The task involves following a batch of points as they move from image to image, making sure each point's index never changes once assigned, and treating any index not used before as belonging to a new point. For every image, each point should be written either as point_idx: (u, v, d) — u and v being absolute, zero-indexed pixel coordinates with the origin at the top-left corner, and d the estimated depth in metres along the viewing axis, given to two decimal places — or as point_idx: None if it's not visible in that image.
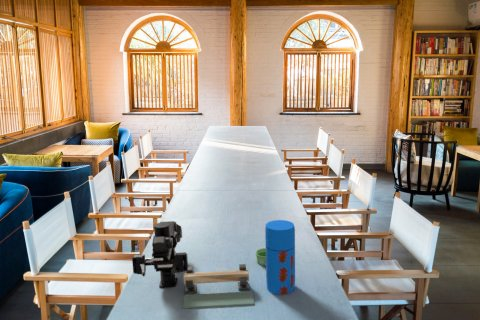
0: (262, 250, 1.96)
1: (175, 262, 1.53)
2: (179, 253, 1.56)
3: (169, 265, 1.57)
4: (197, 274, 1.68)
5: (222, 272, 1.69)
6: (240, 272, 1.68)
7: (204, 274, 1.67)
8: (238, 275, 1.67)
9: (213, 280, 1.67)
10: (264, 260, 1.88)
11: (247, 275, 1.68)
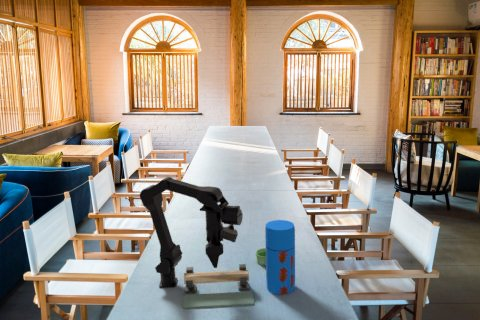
0: (262, 250, 1.96)
1: None
2: None
3: None
4: (197, 274, 1.68)
5: (222, 272, 1.69)
6: (240, 272, 1.68)
7: (204, 274, 1.67)
8: (238, 275, 1.67)
9: (213, 280, 1.67)
10: (264, 260, 1.88)
11: (247, 275, 1.68)
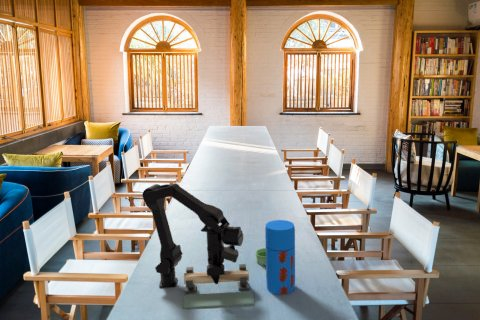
0: (262, 250, 1.96)
1: None
2: None
3: None
4: (197, 274, 1.68)
5: None
6: (240, 272, 1.68)
7: (204, 274, 1.67)
8: (238, 275, 1.67)
9: None
10: (264, 260, 1.88)
11: (247, 275, 1.68)
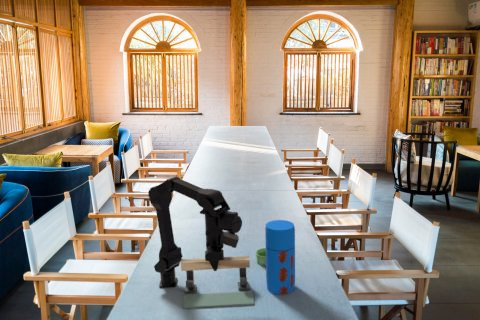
0: (262, 250, 1.96)
1: None
2: None
3: None
4: (195, 260, 1.59)
5: None
6: (240, 258, 1.59)
7: (203, 261, 1.58)
8: (238, 261, 1.58)
9: None
10: (264, 260, 1.88)
11: (248, 261, 1.59)
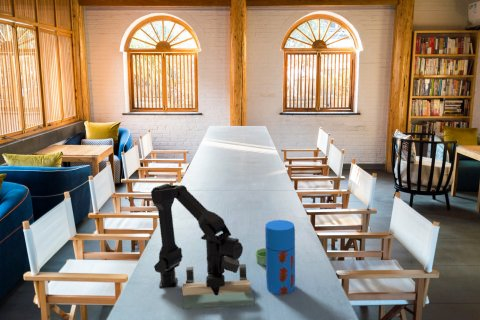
0: (262, 250, 1.96)
1: None
2: None
3: None
4: (196, 285, 1.61)
5: None
6: (241, 283, 1.61)
7: (204, 285, 1.60)
8: (239, 286, 1.60)
9: None
10: (264, 260, 1.88)
11: (248, 286, 1.61)
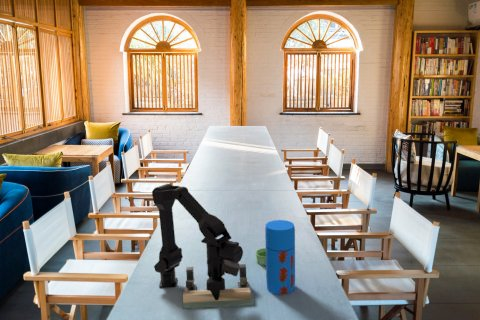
0: (262, 250, 1.96)
1: None
2: None
3: None
4: (197, 292, 1.62)
5: (223, 290, 1.62)
6: (241, 290, 1.62)
7: (204, 293, 1.61)
8: (239, 293, 1.61)
9: (214, 299, 1.61)
10: (264, 260, 1.88)
11: (249, 293, 1.61)
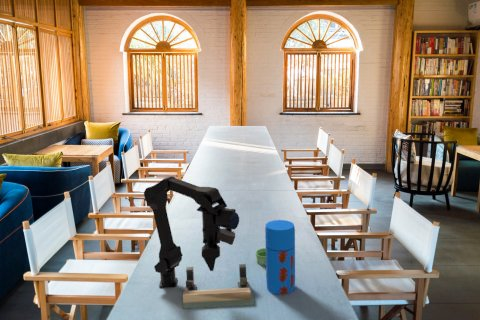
0: (262, 250, 1.96)
1: None
2: None
3: None
4: (197, 292, 1.62)
5: (223, 290, 1.62)
6: (241, 290, 1.62)
7: (204, 293, 1.61)
8: (239, 293, 1.61)
9: (214, 299, 1.61)
10: (264, 260, 1.88)
11: (249, 293, 1.61)
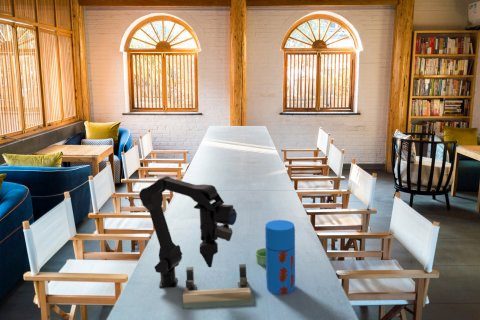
0: (262, 250, 1.96)
1: None
2: None
3: None
4: (197, 292, 1.62)
5: (223, 290, 1.62)
6: (241, 290, 1.62)
7: (204, 293, 1.61)
8: (239, 293, 1.61)
9: (214, 299, 1.61)
10: (264, 260, 1.88)
11: (249, 293, 1.61)
